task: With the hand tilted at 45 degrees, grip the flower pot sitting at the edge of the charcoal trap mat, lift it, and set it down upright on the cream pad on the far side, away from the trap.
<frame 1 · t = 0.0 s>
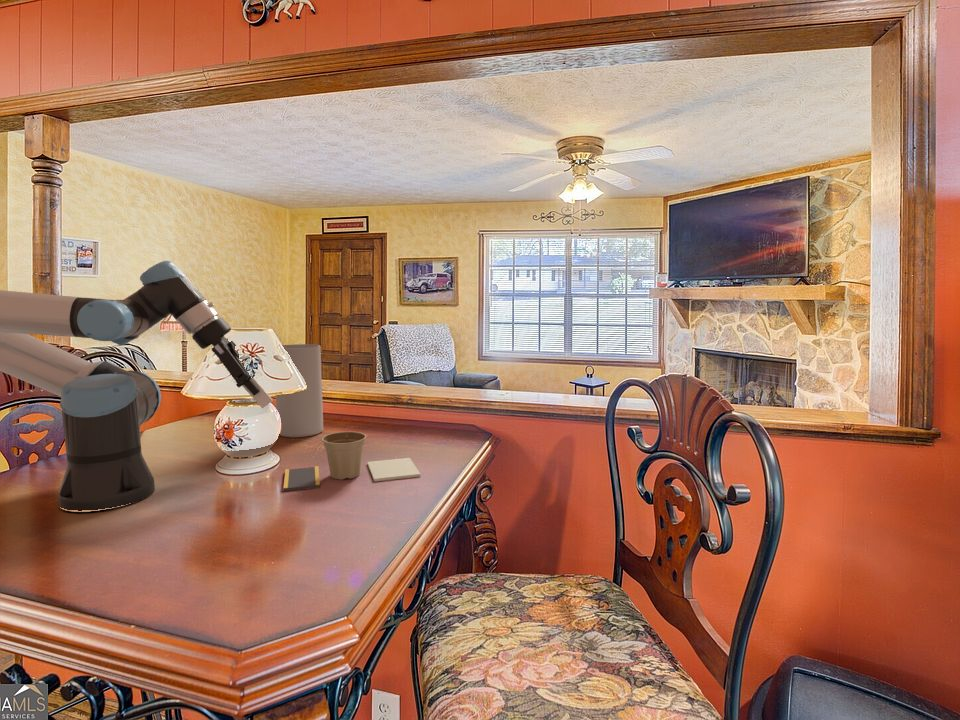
hand: (269, 398, 120), 15 cm above the table, tool tilted 35°, fingers open, 13 cm apart
trap mat: (302, 479, 111), on the table
cylinder vase: (300, 433, 149), on the table
flower pot: (345, 476, 114), on the table
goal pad: (393, 470, 117), on the table
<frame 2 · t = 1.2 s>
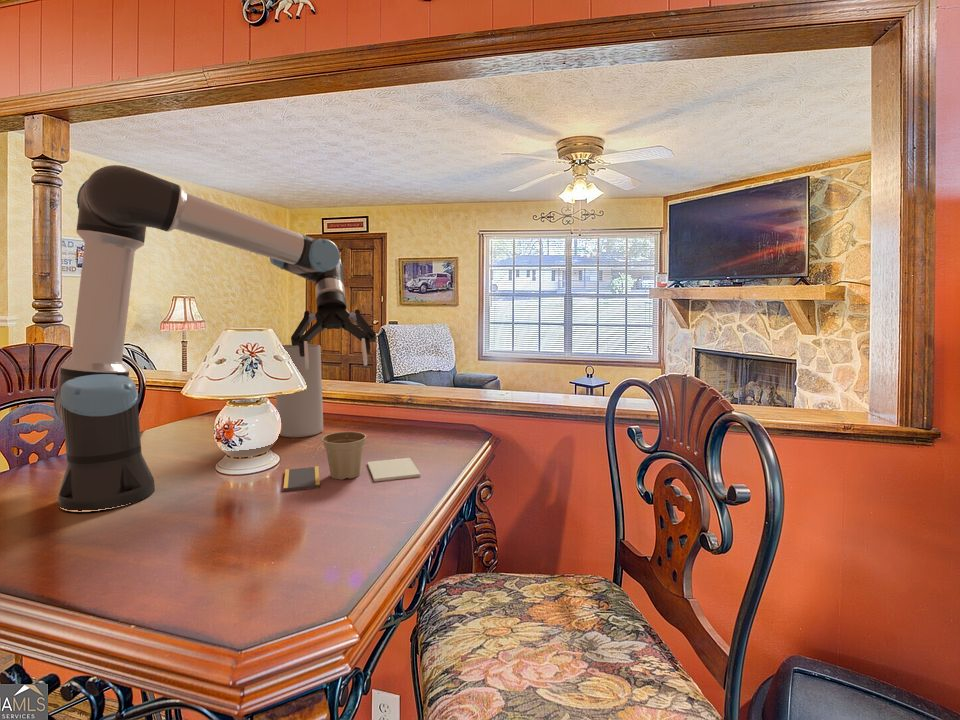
hand: (336, 364, 124), 23 cm above the table, tool tilted 45°, fingers open, 13 cm apart
nothing on the table moved.
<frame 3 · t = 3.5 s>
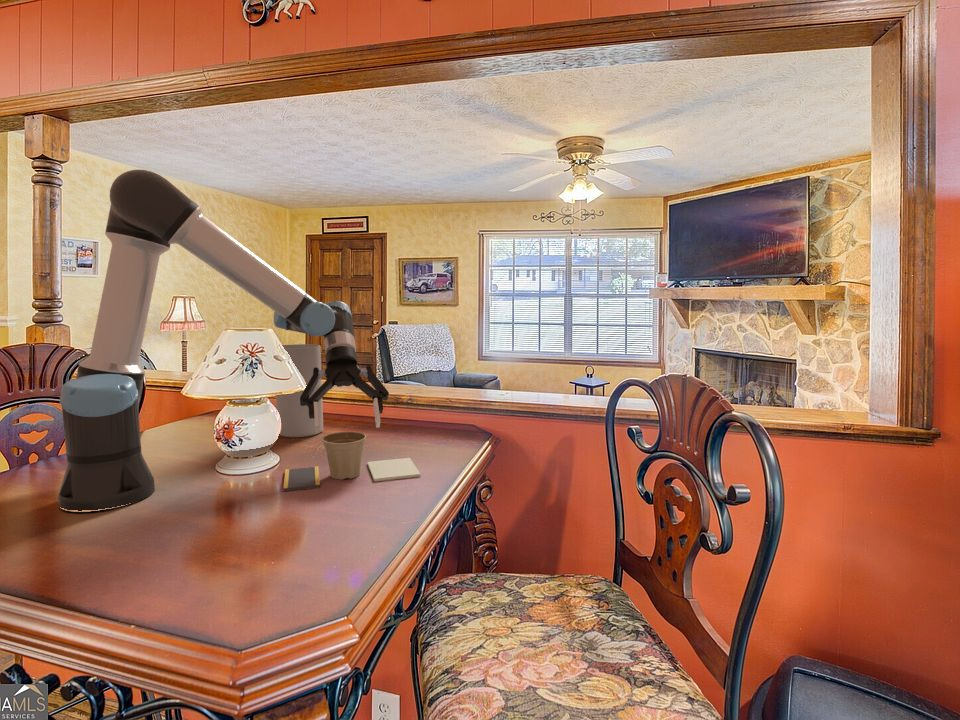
hand: (348, 427, 117), 10 cm above the table, tool tilted 45°, fingers open, 13 cm apart
nothing on the table moved.
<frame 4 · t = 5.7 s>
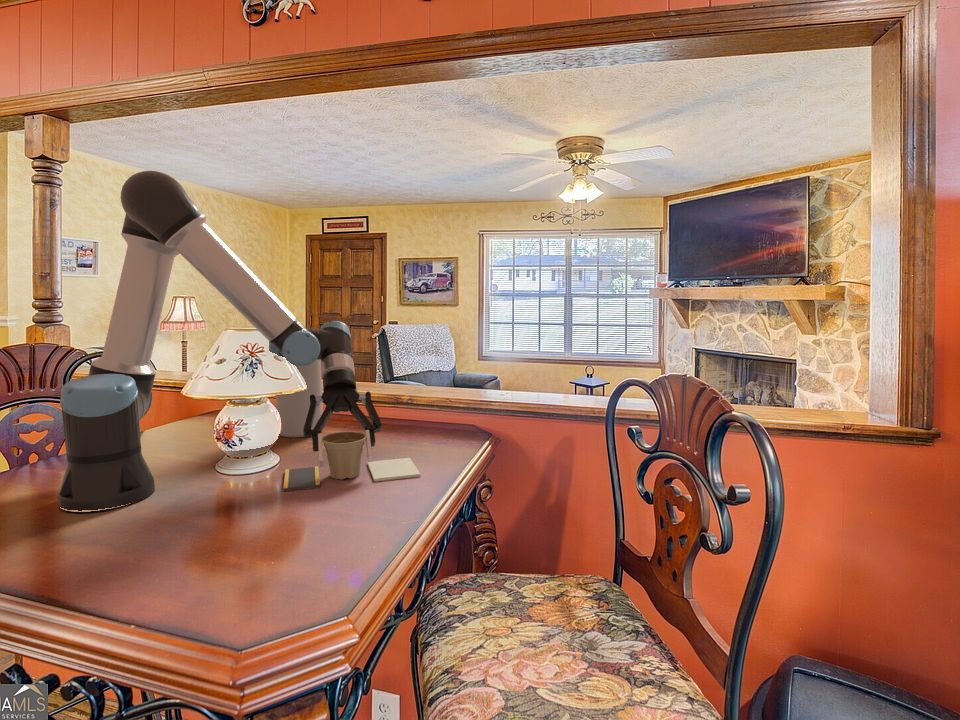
hand: (345, 461, 110), 4 cm above the table, tool tilted 45°, fingers closed on flower pot, 9 cm apart
flower pot: (345, 476, 114), on the table, touching gripper
everything else where it was.
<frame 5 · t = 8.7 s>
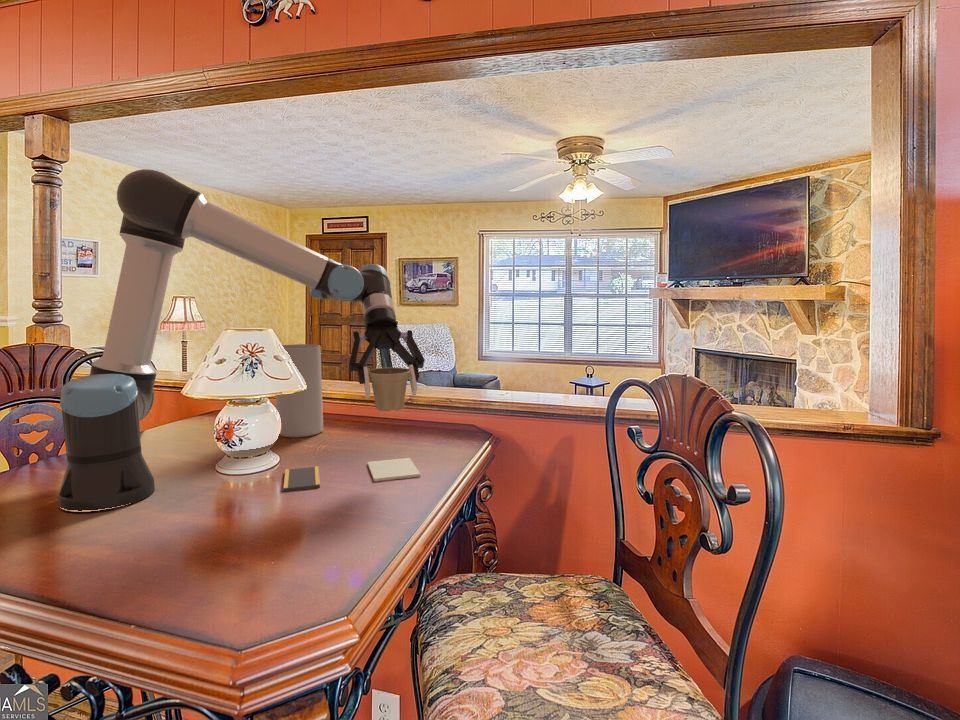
hand: (391, 393, 112), 18 cm above the table, tool tilted 45°, fingers closed on flower pot, 9 cm apart
flower pot: (390, 409, 115), point 14 cm above the table, touching gripper
everything else where it was.
when the fingers open (6 cm above the table, at t = 11.6 s): flower pot drops 1 cm, resting on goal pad.
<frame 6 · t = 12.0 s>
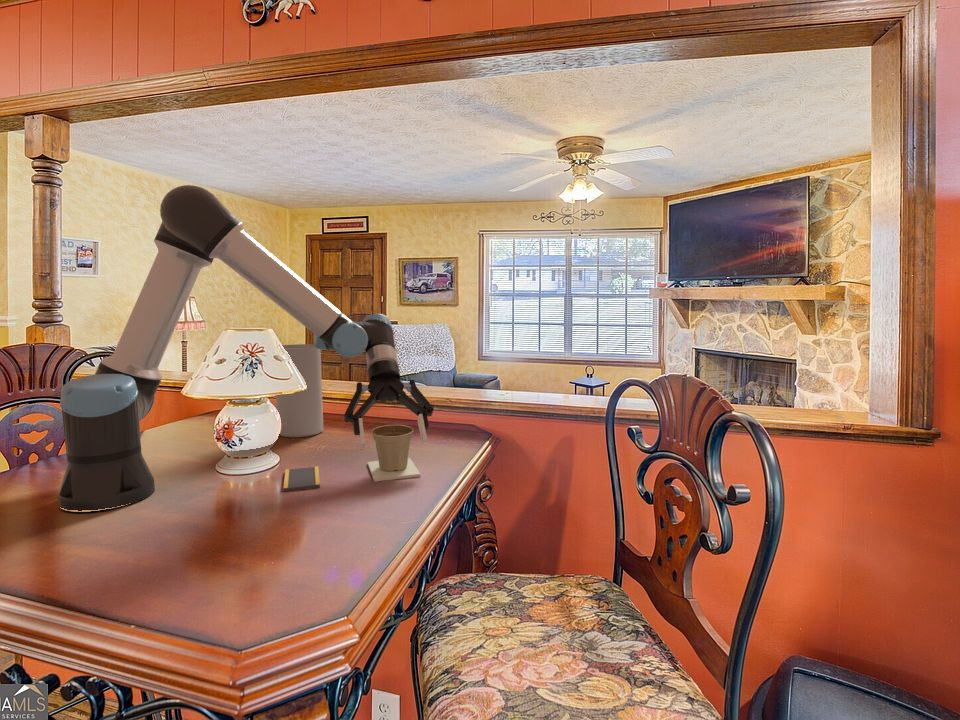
hand: (394, 444, 114), 7 cm above the table, tool tilted 45°, fingers open, 13 cm apart
flower pot: (393, 468, 117), resting on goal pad
everything else where it was.
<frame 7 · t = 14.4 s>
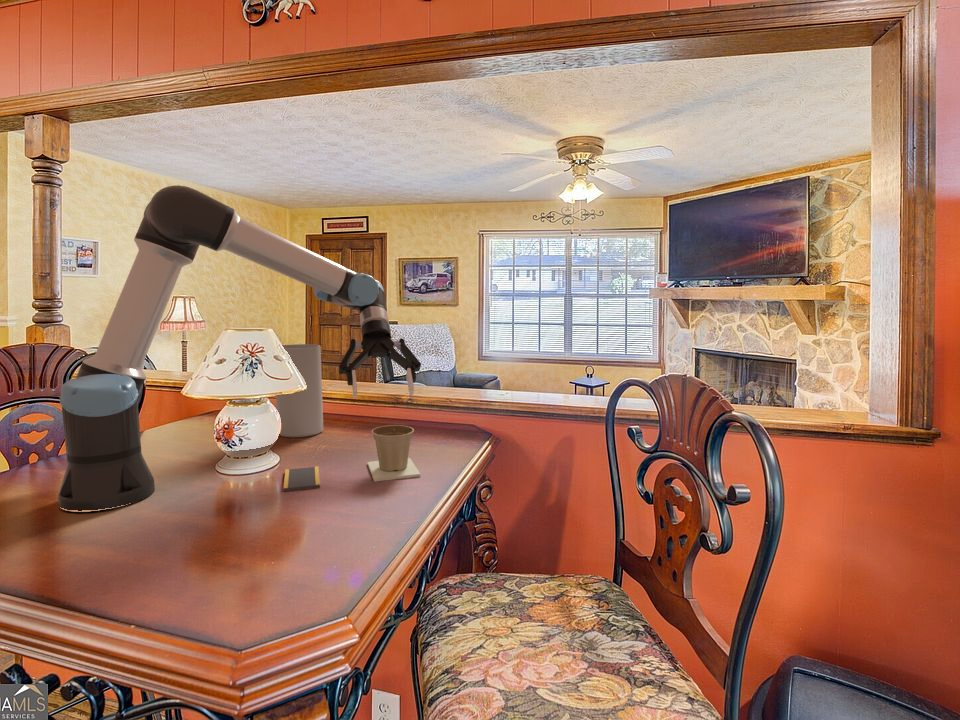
hand: (384, 393, 125), 16 cm above the table, tool tilted 45°, fingers open, 13 cm apart
nothing on the table moved.
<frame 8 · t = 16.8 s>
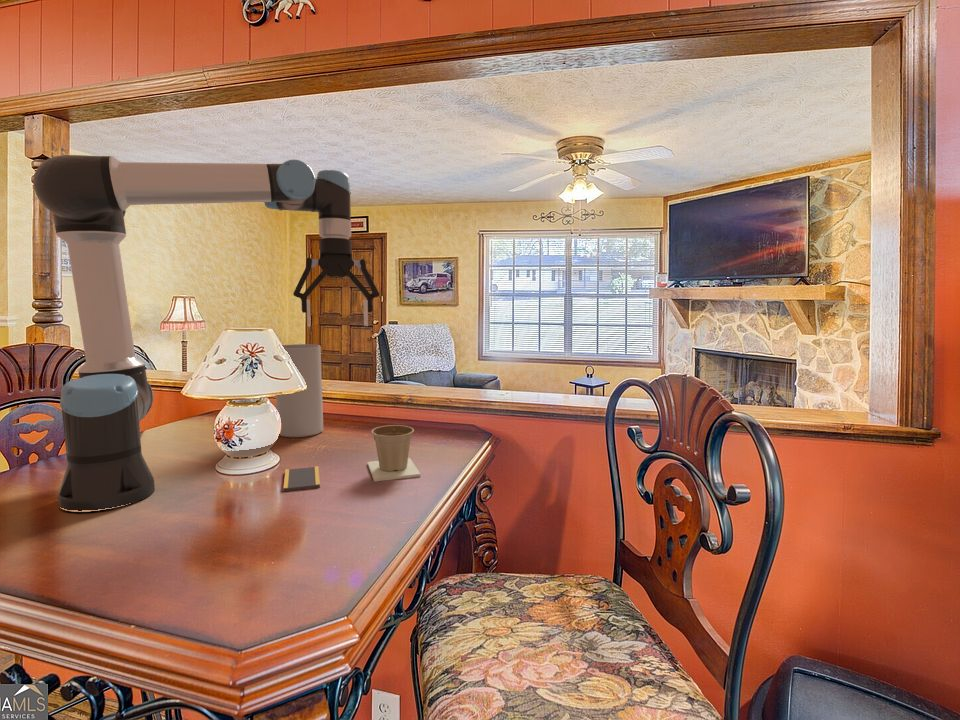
hand: (338, 326, 128), 32 cm above the table, tool pointing down, fingers open, 13 cm apart
nothing on the table moved.
at the end: flower pot inside the target area on the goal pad (0.1 cm from its centre), point 0.4 cm above the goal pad's base; flower pot tilted 0°; the gripper is holding nothing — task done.
